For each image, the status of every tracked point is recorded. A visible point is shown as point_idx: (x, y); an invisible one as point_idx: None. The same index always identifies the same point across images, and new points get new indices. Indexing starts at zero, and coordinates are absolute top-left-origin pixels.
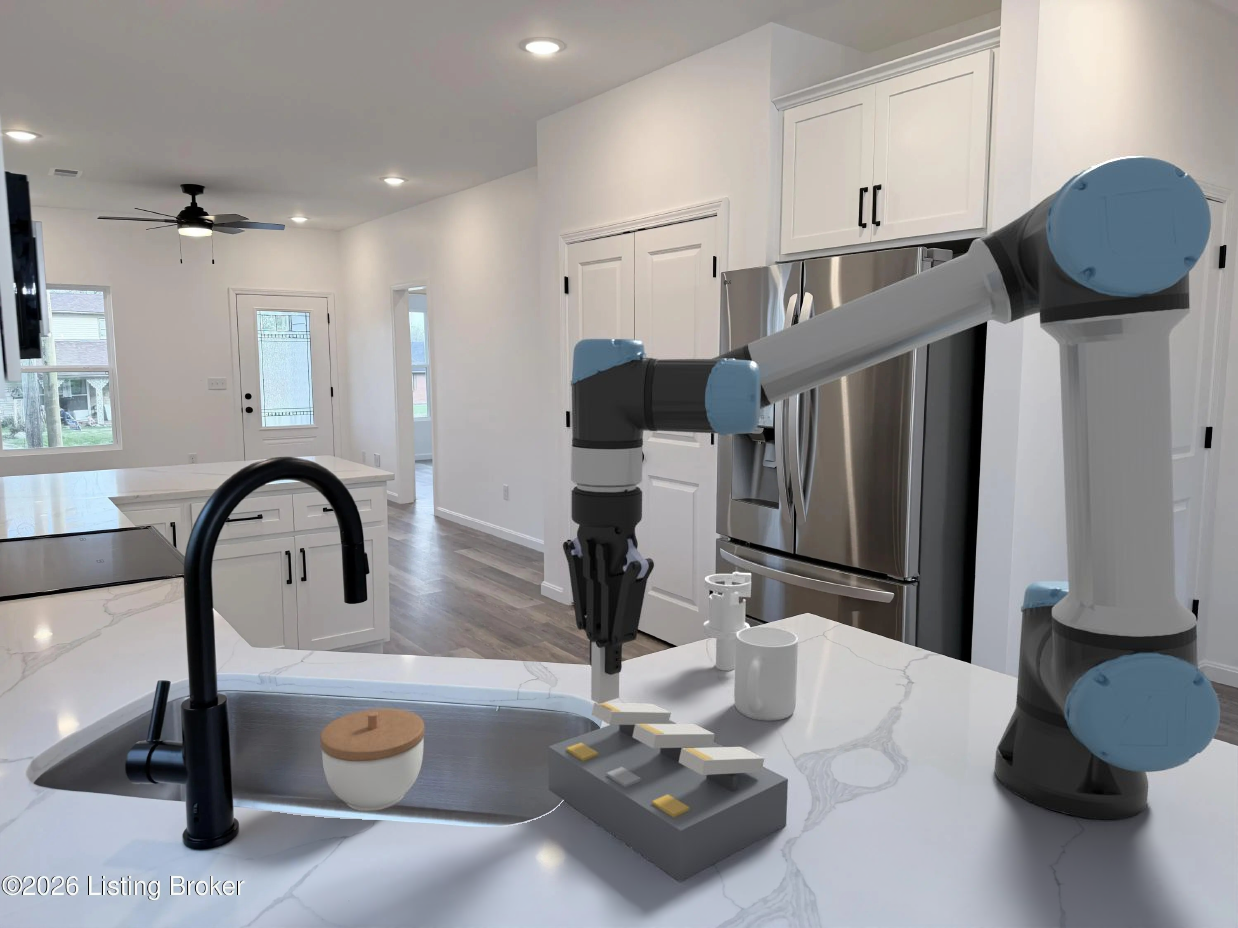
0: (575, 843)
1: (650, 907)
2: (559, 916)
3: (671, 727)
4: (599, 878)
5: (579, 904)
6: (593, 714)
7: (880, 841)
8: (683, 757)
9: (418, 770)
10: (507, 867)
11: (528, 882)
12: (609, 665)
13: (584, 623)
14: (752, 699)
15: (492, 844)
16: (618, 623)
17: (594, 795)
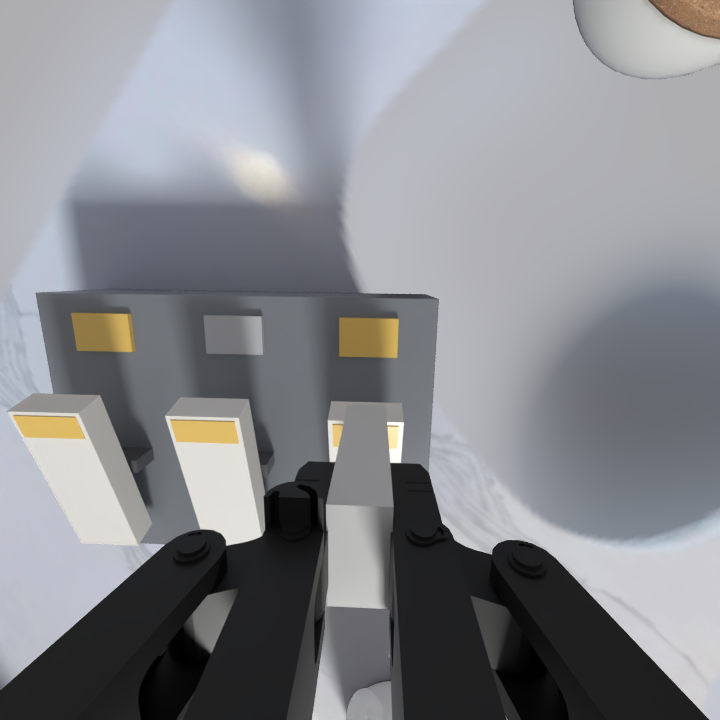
0: (265, 230)
1: (79, 218)
2: (127, 94)
3: (230, 488)
4: (170, 202)
5: (135, 137)
6: (394, 404)
7: (44, 547)
8: (80, 403)
9: (596, 39)
10: (273, 98)
11: (221, 104)
12: (308, 479)
13: (496, 581)
14: (349, 710)
15: (344, 114)
16: (93, 644)
17: (285, 294)
